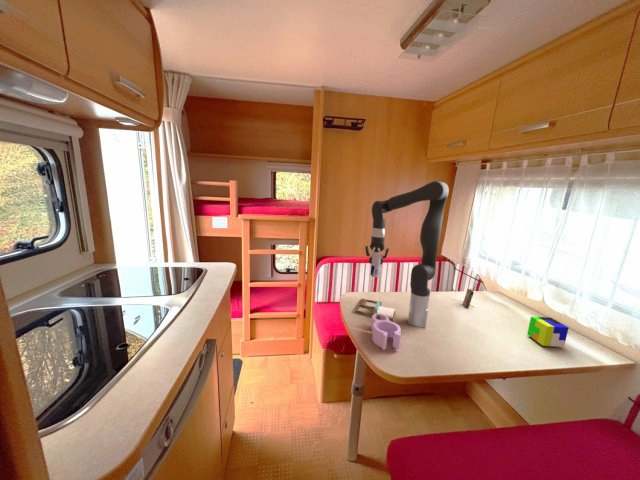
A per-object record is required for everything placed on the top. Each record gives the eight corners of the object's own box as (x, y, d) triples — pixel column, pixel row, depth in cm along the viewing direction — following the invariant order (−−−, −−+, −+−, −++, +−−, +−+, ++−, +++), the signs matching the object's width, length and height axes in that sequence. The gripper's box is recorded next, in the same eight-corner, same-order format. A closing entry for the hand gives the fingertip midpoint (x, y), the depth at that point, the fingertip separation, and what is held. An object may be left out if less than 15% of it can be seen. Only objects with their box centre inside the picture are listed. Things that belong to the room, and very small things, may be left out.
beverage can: (380, 275, 158) (382, 251, 156) (379, 278, 153) (381, 253, 151) (371, 274, 160) (373, 250, 158) (369, 276, 155) (371, 252, 152)
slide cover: (394, 310, 152) (395, 305, 151) (392, 318, 143) (393, 312, 142) (376, 307, 155) (377, 301, 155) (374, 314, 146) (374, 308, 145)
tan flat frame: (396, 307, 160) (396, 305, 160) (393, 321, 143) (393, 318, 142) (361, 300, 168) (361, 298, 167) (354, 312, 150) (354, 310, 150)
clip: (365, 326, 136) (366, 314, 134) (388, 326, 137) (390, 314, 136) (377, 349, 116) (379, 335, 115) (404, 349, 117) (406, 335, 116)
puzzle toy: (564, 346, 126) (568, 327, 124) (542, 345, 126) (547, 326, 124) (546, 335, 135) (550, 317, 134) (527, 334, 136) (531, 316, 134)
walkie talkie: (478, 312, 159) (483, 283, 156) (455, 308, 162) (459, 281, 159) (471, 303, 172) (476, 277, 169) (450, 300, 175) (453, 274, 172)
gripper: (391, 236, 153) (388, 264, 156) (367, 233, 158) (365, 260, 161) (390, 237, 146) (387, 267, 150) (364, 235, 151) (362, 263, 155)
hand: (375, 263), depth 155 cm, fingers closed on beverage can, 5 cm apart
